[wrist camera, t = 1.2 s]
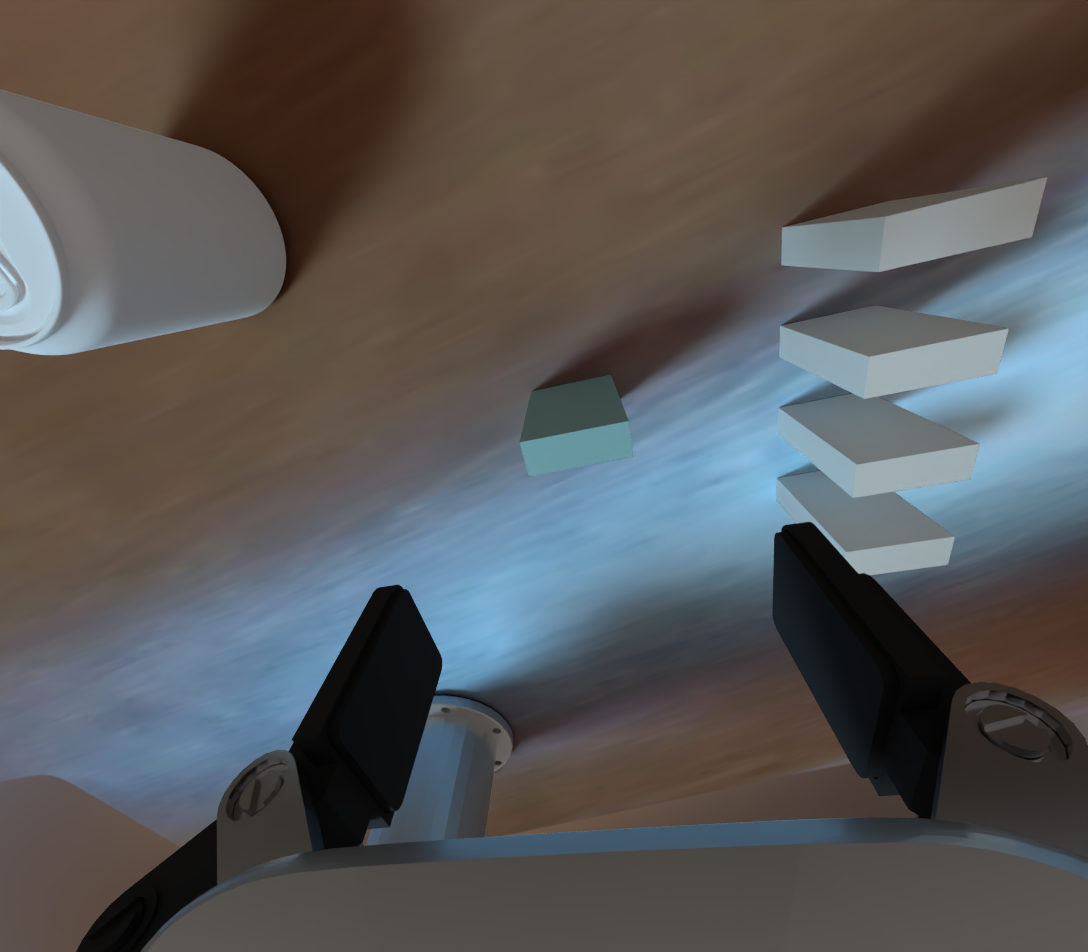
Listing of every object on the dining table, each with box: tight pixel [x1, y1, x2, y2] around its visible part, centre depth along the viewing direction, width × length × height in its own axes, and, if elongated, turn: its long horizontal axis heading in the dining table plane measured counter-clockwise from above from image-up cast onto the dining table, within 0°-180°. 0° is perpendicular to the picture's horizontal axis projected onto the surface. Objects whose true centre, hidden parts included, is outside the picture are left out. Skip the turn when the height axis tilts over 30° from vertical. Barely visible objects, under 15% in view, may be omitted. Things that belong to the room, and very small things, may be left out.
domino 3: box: [780, 305, 1009, 399], centre depth 21 cm, size 2×5×8 cm, turn 103°
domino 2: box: [781, 177, 1047, 272], centre depth 19 cm, size 2×5×8 cm, turn 103°
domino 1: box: [520, 375, 634, 476], centre depth 23 cm, size 2×5×8 cm, turn 103°
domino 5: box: [776, 471, 955, 575], centre depth 25 cm, size 2×5×8 cm, turn 103°
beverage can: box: [0, 89, 286, 355], centre depth 18 cm, size 8×8×12 cm
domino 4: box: [778, 393, 979, 498], centre depth 23 cm, size 2×5×8 cm, turn 103°
